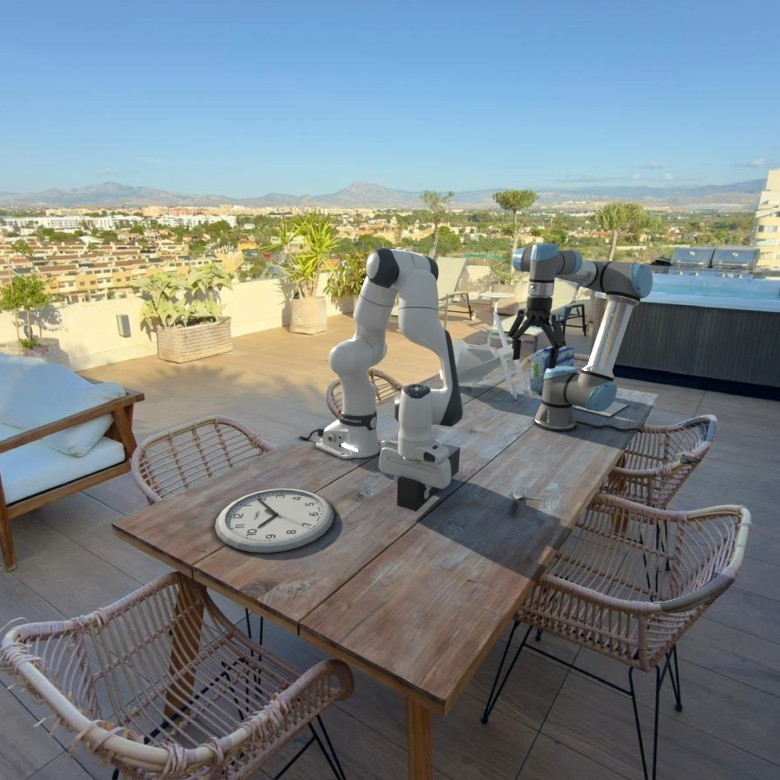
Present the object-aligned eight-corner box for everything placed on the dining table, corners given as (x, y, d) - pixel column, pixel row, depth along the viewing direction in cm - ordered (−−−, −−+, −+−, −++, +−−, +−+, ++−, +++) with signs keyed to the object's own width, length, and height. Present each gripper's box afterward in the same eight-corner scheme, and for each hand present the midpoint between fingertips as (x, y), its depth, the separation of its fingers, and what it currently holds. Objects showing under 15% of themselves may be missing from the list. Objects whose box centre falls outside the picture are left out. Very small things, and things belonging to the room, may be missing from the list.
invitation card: (608, 416, 214) (573, 407, 224) (608, 416, 214) (573, 408, 224) (628, 404, 229) (594, 396, 238) (628, 405, 229) (594, 397, 238)
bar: (441, 466, 163) (442, 443, 160) (458, 471, 160) (460, 447, 157) (396, 505, 140) (397, 478, 137) (416, 511, 137) (416, 484, 135)
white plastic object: (461, 429, 252) (437, 405, 227) (444, 352, 274) (420, 323, 250) (535, 404, 240) (518, 377, 215) (510, 326, 262) (492, 293, 237)
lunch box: (546, 398, 236) (551, 353, 229) (525, 393, 243) (529, 349, 237) (573, 387, 253) (579, 344, 247) (553, 382, 260) (558, 341, 254)
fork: (506, 517, 138) (507, 510, 138) (514, 490, 152) (515, 483, 152) (516, 518, 137) (517, 512, 137) (523, 491, 152) (524, 485, 151)
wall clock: (332, 544, 122) (200, 548, 120) (332, 550, 123) (201, 555, 120) (334, 484, 151) (228, 486, 148) (334, 489, 151) (228, 491, 149)
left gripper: (374, 441, 139) (374, 488, 143) (444, 459, 129) (442, 509, 133) (386, 434, 144) (386, 479, 148) (455, 450, 134) (452, 498, 138)
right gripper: (500, 292, 166) (495, 357, 172) (568, 301, 147) (560, 374, 154) (515, 291, 171) (509, 354, 177) (583, 300, 152) (574, 370, 158)
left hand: (413, 493), depth 140 cm, fingers closed on bar, 6 cm apart
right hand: (533, 363), depth 165 cm, fingers open, 13 cm apart
